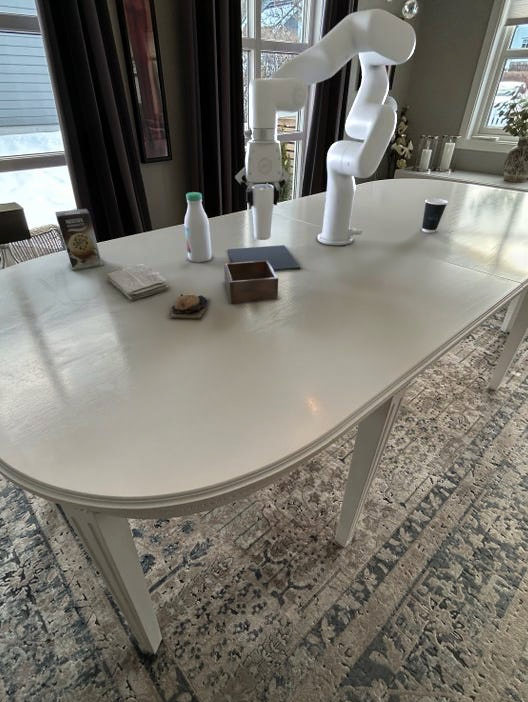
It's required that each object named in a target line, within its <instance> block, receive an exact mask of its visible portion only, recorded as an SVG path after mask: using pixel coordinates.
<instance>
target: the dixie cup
mask: <svg viewBox="0 0 528 702" xmlns="http://www.w3.org/2000/svg"><path fill="white" fill-rule="evenodd" d="M424 201H425V203H424V204H425V205H424V211H423V217H422V225H421V231H422V232H424V233H429V234H433V233H435V232H436V230H437V229H438V227H439V224H440V223H441V219H442V217H443V214H444V212H445V209H446V207H447V205H448V203H449V201H448V200H445V199H442V198H426V199H425V200H424Z"/></svg>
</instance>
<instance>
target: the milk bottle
mask: <svg viewBox="0 0 528 702" xmlns="http://www.w3.org/2000/svg"><path fill="white" fill-rule="evenodd" d="M185 197H186V198H185V199H186V202H187V209H186V213H185V216H184V233H185V243H186V253H187V258H188V260H189V261H191V262H193V263H205V262H207V261H210V260H211V259H212V244H211V231H210V223H209V218H208V215H207V213H206V212H205V209H204V207H203V203H202V202H203V195H202V193H201V192H196V191H195V192H194V191H192V192H187V193H186V194H185Z"/></svg>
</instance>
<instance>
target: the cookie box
mask: <svg viewBox="0 0 528 702" xmlns="http://www.w3.org/2000/svg"><path fill="white" fill-rule="evenodd" d="M54 214H55V217H56V220H57V225H58V228H59V230H60V234H61V237H62V240H63V244H64V247H65V250H66V255H67V257H68V259H69V263H70V267H71V270H72V271H76V270H83V269H89V268H93V267H98V266H103V262H102V258H101V255H100V250H99V246H98V243H97V239H96V234H95V230H94V226H93V222H92V219H91V214H90V212H89V210H88V209H87V208H79V209H70V210H62V211H61V210H60V211H55V212H54Z"/></svg>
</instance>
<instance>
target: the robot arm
mask: <svg viewBox="0 0 528 702" xmlns="http://www.w3.org/2000/svg"><path fill="white" fill-rule="evenodd" d="M416 42H417V36H416V31H415V30H414V27H413V26H412V25H411V24H410V23H409V22H407V21H406V20H403V19H402V18H400V17H398V16H396V15H394V14H393V13H391V12H389V11H387V10H384V9H382V8H370V9H366V10H365V9H364V10H359V11H354V12H351V13H350V14H348V15H346V16H344V18H343V19H341V20H340V21H339V22H338V23H336V25H335V26H334V27H333V28H332V29H331V30H329V32H328V33H326V34H325V35H324V36H323V37H322V38H321V39H320V40H319V41H318V42H316V43H314V45H312V46H311V47H309V48H307V49H305V50H304V51H302V52H301V53H299V54H298V55H296V56H294V57H293V58H290V60H287V61H286V62H285V63H284V64H281V66H279V68H277V69H276V70H275V71H274V72H273V73H272V74H271V75H270V76H268V77H267V78H266V77H263V78H261V77H259V78H253V79H251V80H250V81H249V85H248V111H249V112H248V126H249V127H248V129H247V130H244V131H243V136H244V137H245V138H248V141H246V147H245V158H244V167H243V168H242V169H241V170H239V172H237V174H236V175H235V176H234V178H235V180H236V181H237V182H238V183H239V185H240V186H241V187H242V188H243V189H244V190H245V193H246V194H245V197H246V198H245V200H246V203H247V204H248V206H249V207H251V208H252V192H251V188H252V186H253V185H255V184H265V183H272V184H273V185H272V186H274V205H273V206H278V202H279V201H280V191H281V189H282V187H284V186H285V184H286V182H287V181H288V180H289V179H290V177H291V174H290V173H289V172H288V170H286V169H285V168H284V167H283V166H282V148H281V142H280V141H279V140H278V118H279V117H278V116H279V113H280V112H281V113H288V114H289V113H290V114H294V113H297V112H300V111H301V110H302V109H304V107H305V106H306V104H307V103H308V100H309V88H308V86H311V85H314V84H318V83H321V82H324V81H326V80H328V79H331V78H332V77H333V76H335V74H337V73H338V72H339V71H340V70H341V69H342V68H343V67H344V66H345V65H346V64H347V63H348V62H349V61H351V60H352V59H353V58H354V57H355V56H356V55H357V54H358V57H359V63H360V67H361V77H362V78H361V83H360V87H359V89H358V92H357V95H356V97H355V99H354V102H353V104H352V107H351V108H350V111H349V113H348V116H347V119H346V122H345V127H344V128H345V133H346V135H347V136H348V137H350V138H352V139H355V140H362V141H363V142H362V141H361V142H359V141H355V140H347V139H346V140H345V139H344V140H338V141H336V142H334V143H333V144H332V145H330V147H329V149H328V151H327V154H326V155H327V156H326V173H327V184H326V193H325V204H324V211H323V221H322V232H320V233H318V235H317V241H318V242H319V243H321V244H323V245H328V246H336V247H337V246H347V245H350V244H351V243H353V236H355V235H356V236H358V235H359V236H360V235H362V233H363V230H362V228H356V227H351V223H352V222H351V221H352V214H353V207H354V200H355V195H356V181H355V178H358V179H367V178H370V177H371V176H373V174H374V173H376V170H377V169H378V167H379V165H380V163H381V161H382V160H383V157H384V155H385V154H386V153H385V152H386V150H387V148H388V146H389V144H390V142H391V140H392V138H393V135H394V134H395V131H396V126H397V112H396V109H395V108H394V107H393V106H392V105H389V104H387V103H385V100H386V98H387V95H388V93H389V87H390V81H389V76H388V72H387V68H386V66H397V65H402V64H404V63H406V62H407V61H408V60H409V59H410V58H411V56H412V55H413V53H414V50H415V48H416ZM282 175H283V176H282ZM244 176H245V179H246V180H247V181H246V182H245V181H244V180H243V177H244Z"/></svg>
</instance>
